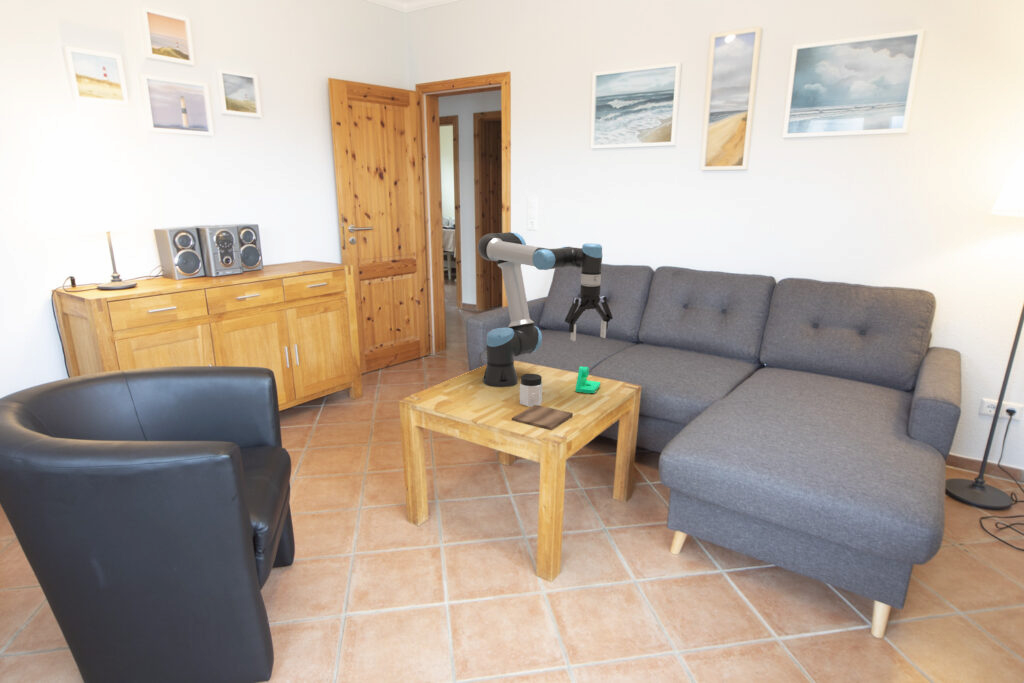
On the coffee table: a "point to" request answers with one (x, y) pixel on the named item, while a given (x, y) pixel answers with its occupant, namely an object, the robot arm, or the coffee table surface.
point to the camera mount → (585, 382)
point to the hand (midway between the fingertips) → (588, 338)
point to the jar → (531, 390)
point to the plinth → (543, 417)
